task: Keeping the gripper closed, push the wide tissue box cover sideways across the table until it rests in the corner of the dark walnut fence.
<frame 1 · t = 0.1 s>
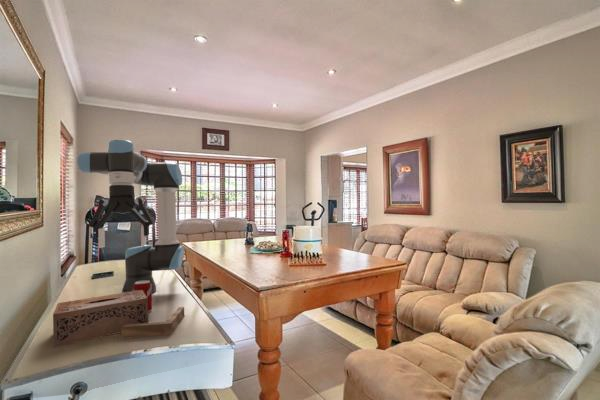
hand: (123, 246, 106), 28 cm above the table, tool pointing down, fingers open, 13 cm apart
walnut fence: (175, 324, 107), on the table
tissue box cover: (103, 330, 106), on the table
soda can: (142, 312, 123), on the table
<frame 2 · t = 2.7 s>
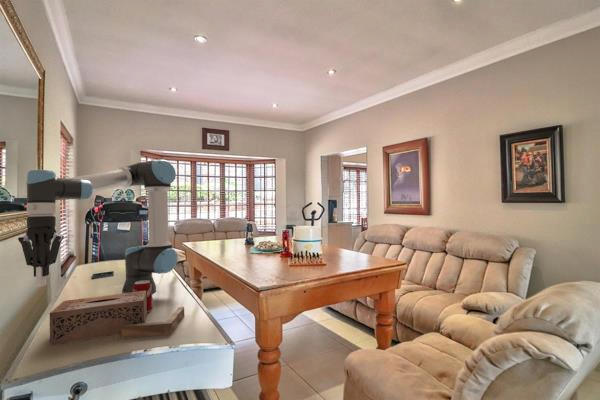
hand: (41, 286, 104), 16 cm above the table, tool pointing down, fingers closed
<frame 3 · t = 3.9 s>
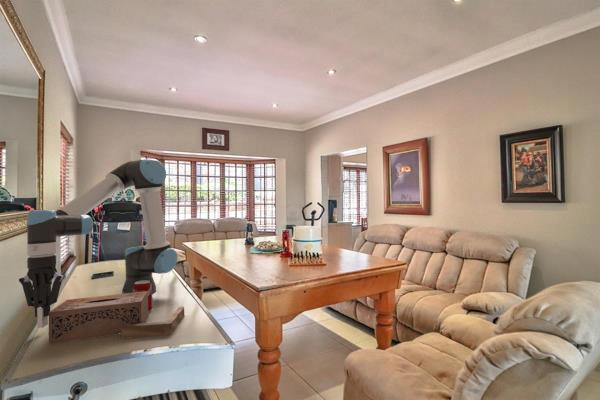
hand: (42, 326, 103), 3 cm above the table, tool pointing down, fingers closed
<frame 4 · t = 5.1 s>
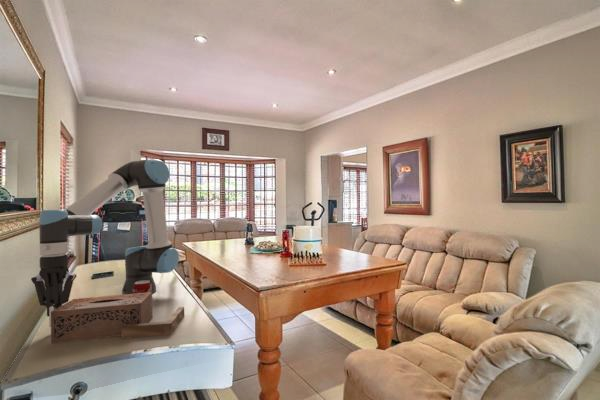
hand: (54, 325, 104), 2 cm above the table, tool pointing down, fingers closed
tissue box cover: (106, 331, 106), on the table
everything else where it was.
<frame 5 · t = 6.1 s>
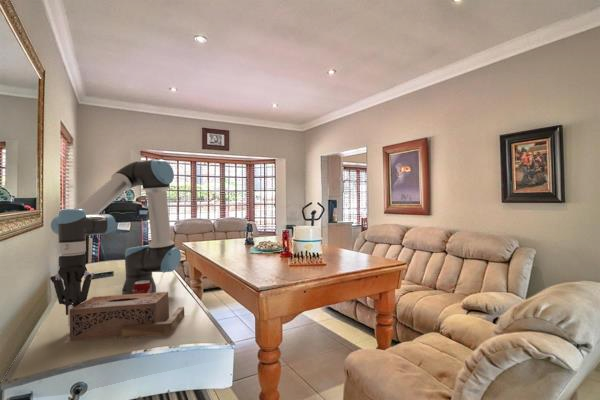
hand: (73, 324, 105), 3 cm above the table, tool pointing down, fingers closed
tissue box cover: (123, 329, 106), on the table, touching gripper
everything else where it was.
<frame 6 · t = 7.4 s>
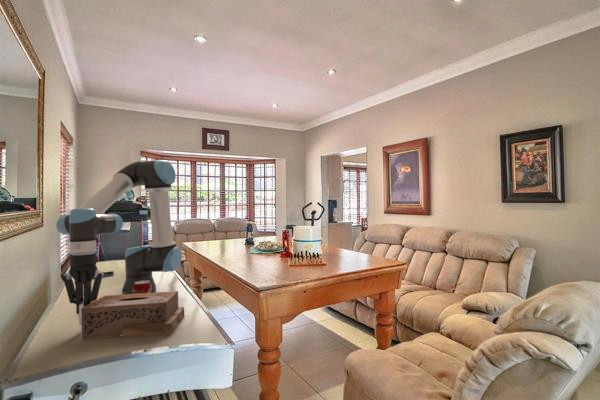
hand: (83, 323, 105), 3 cm above the table, tool pointing down, fingers closed
tissue box cover: (134, 328, 107), on the table, touching gripper
everything else where it was.
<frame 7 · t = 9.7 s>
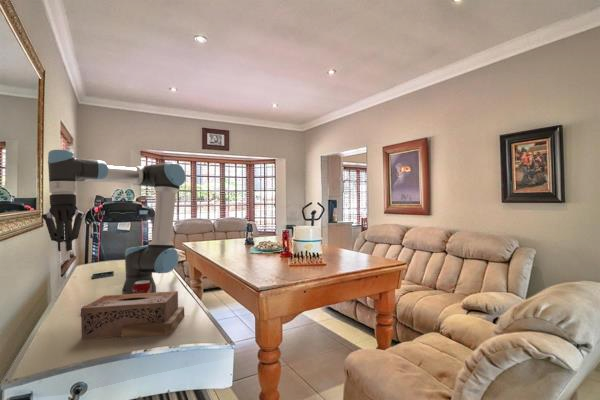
hand: (65, 260, 110), 24 cm above the table, tool pointing down, fingers closed
tissue box cover: (133, 328, 107), on the table
everything else where it was.
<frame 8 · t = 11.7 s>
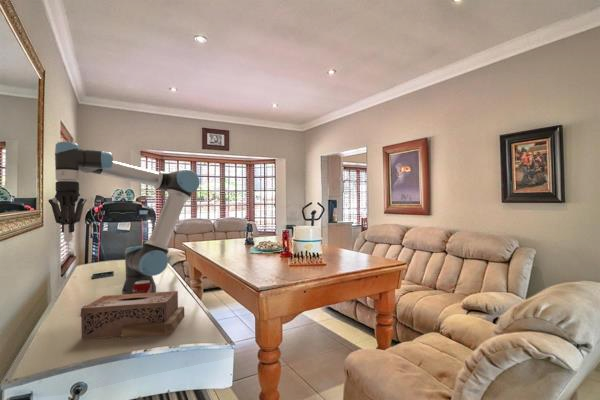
hand: (68, 240, 122), 29 cm above the table, tool pointing down, fingers closed
nothing on the table moved.
at the end: tissue box cover inside the target area (0.6 cm from its centre), on the table; tissue box cover tilted 0°; tissue box cover moved 10.1 cm from its start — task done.
